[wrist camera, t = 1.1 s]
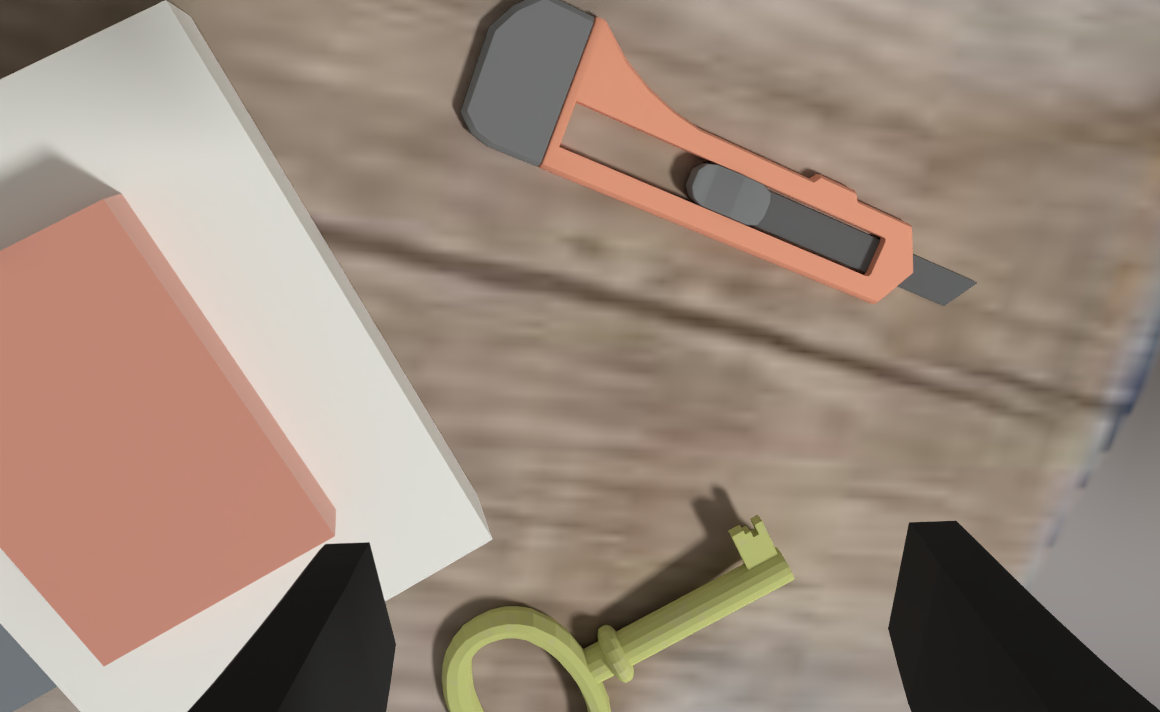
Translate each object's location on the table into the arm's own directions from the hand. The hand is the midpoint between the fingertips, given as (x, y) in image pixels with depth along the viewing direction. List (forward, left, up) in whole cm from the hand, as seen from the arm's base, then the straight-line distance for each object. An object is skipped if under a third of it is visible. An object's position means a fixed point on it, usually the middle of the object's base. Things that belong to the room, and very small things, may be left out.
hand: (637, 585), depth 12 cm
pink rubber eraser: (-8, +3, -11) cm, 14 cm away
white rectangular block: (-8, +3, -14) cm, 17 cm away
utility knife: (+10, 0, -15) cm, 18 cm away
